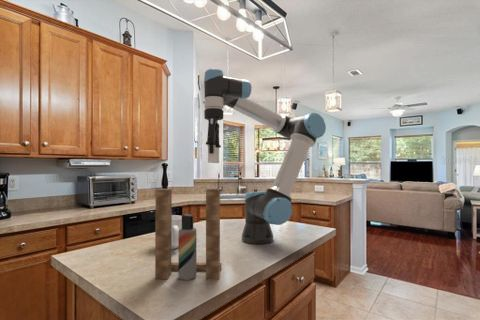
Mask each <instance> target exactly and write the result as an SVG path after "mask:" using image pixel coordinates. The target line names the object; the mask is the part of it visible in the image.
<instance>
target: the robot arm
mask: <svg viewBox="0 0 480 320" xmlns="http://www.w3.org/2000/svg"><path fill="white" fill-rule="evenodd" d="M203 78H204V79H203V80H204V81H203V85H204V86H203V87H204V88H203V89H204V93H203V94H204V100H203V101H202V104H204V111H203V113H204V115H203V116H204V119H205V120H206V121H208V124H207V138H206V142H205V145H207V163H209V164H220V149H221V148H222V145H220V124H219V122H218V121H222V120H223V119H224V106H226V107H229V108H231V109H233V110H235V111H236V112H239V113H241V114H242V115H245V116H247V117H249V118H251V119H252V120H254V121H256V122H258V123H259V124H260V123H261V124H262V125H265V126H267V127H268V128H270V129H272V131H273V132H274V133H276V134H278V135H280V136H282V137H284V138H286V139H289V140H291V142H290V144H289V147H288V149H287V151H286V154H285V156H284V158H283V160H282V163H281V165H280V166H279V167H280V168H279V169H278V172H277V174H276V177H275V179H274V180H273V184H272V185H271V186H270V187H267V189H266V191H265V190H264V191H252V192H246V193H245V197H244V208H245V209H244V211H245V213H244V218H245V223H244V227H243V230H242V233H241V240H242V242H243V243H246V244H252V245H265V244H270V243H272V242H273V241H274V233H273V231H272V227H271V225H275V226H280V225H284V224H286V223H287V222H288V221H289V220H290V218H291V217H292V213H293V208H292V206H293V205H292V203H291V202H292V200H293V198H292V196H291V192H292V191H293V188H294V186H295V183H296V181H297V179H298V177H299V174H300V171H301V169H302V167H303V164H304V161H305V159H306V157H307V155H308V152H309V150H310V148H312V147H315V145H316V142H317V140H318V139H319V138H321V137H323V136H324V135H325V133H326V131H327V130H326V129H327V127H326V126H327V125H326V122H325V119H324V118H323V116H321V115H320V114H319V113H317V112H308V113H306V114H302V115H299V116H294V117H292V116H291V117H290V116H287V115H285V114H278V113H277V112H275V111H273V110H271V109H269V108H267V107H265V106H263V105H261V104H260V103H258V102H257V101H254V100H253V99H250V96H251V94H252V83H251V82H250V81H249V80H247V79H243V78H234V77H227V76H225V75H224V71H223V70H221V69H219V68H209V69H207V70H205V72H204V77H203Z"/></svg>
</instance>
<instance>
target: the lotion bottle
mask: <svg viewBox="0 0 480 320" xmlns="http://www.w3.org/2000/svg"><path fill="white" fill-rule="evenodd" d="M181 216H182V228H181V229H179V235H178V247H177V248H178V259H177V260H178V272H177V273H178V278H179V279H180V280H183V281H190V280H193V279H195V278H197V271H196V263H197V228H195V227H194V220H195V219H194V218H195V217H194V215H193V214H191V213H183V214H182V215H181Z"/></svg>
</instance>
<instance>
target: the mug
mask: <svg viewBox="0 0 480 320" xmlns="http://www.w3.org/2000/svg"><path fill="white" fill-rule="evenodd" d="M182 216H183V215H178V214H177V215H176V214H172V250H174V249H177V248H178V235H179V229H181V228H182Z"/></svg>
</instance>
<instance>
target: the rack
mask: <svg viewBox="0 0 480 320" xmlns="http://www.w3.org/2000/svg"><path fill="white" fill-rule="evenodd" d="M172 190H173V188H157V189H155V212H154V213H155V215H154V217H155V222H154V223H155V224H154V225H155V229H154V230H155V233H154V234H155V236H154V237H155V239H154V243H155V247H154V248H155V250H154V251H155V254H154V256H155V257H154V259H155V264H154V269H155V270H154V271H155V272H154V273H155V274H154V276H155V277H154V279H155V280H168V279H169V278H170V277H171V276H172V271H178V262H172V250H173V249H172V215H173V214H172V213H173V212H172V210H173V209H172V206H173V203H172V199H173V198H172V197H173V196H172V195H173V194H172V192H173V191H172ZM197 271H203V272H205V280H214V281H215V280H219V279H220V277H221V276H220V275H221V271H222V262H221V189H220V188H207V189H205V262H196V272H197Z"/></svg>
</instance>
